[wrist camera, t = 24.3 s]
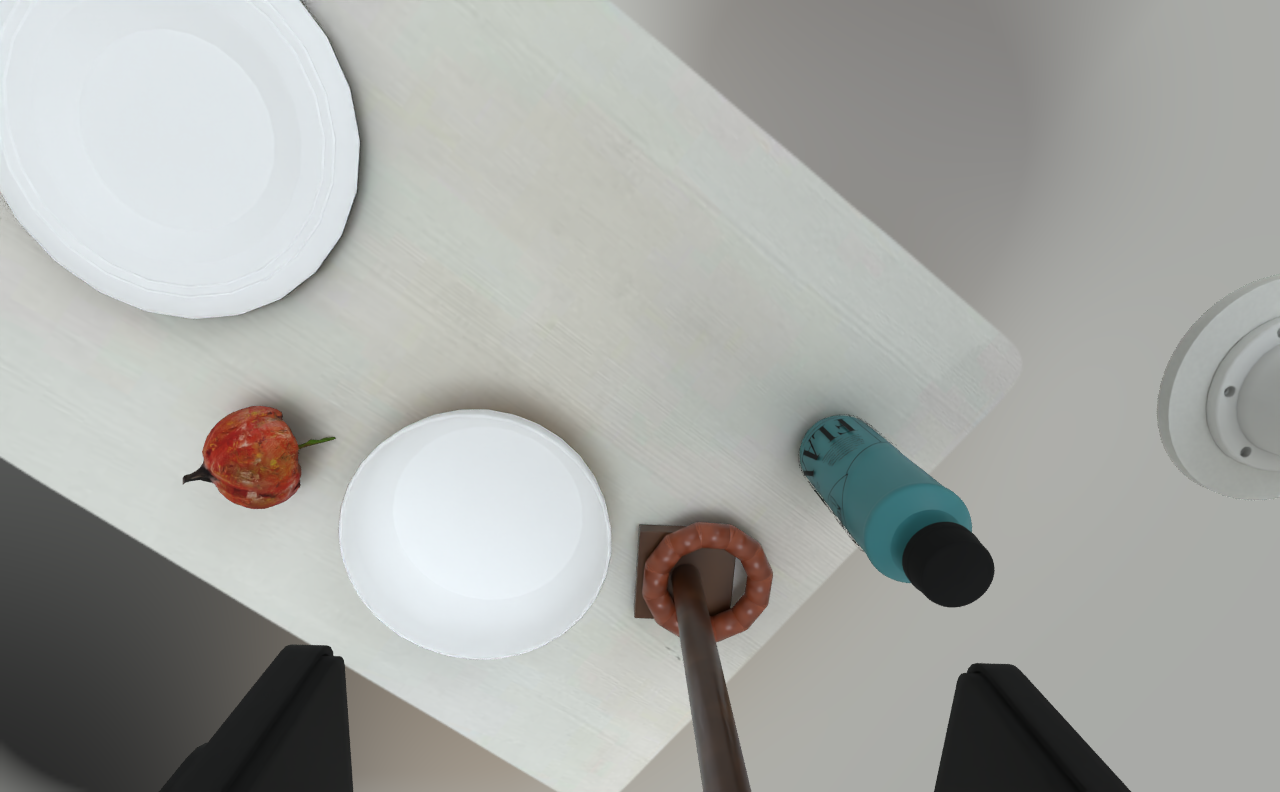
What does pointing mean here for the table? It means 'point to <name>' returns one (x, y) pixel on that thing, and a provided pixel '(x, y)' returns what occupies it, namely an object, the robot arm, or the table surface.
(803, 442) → the beverage bottle
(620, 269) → the table surface
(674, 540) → the ring
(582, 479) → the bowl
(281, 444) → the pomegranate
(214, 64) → the plate
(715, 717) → the peg post
